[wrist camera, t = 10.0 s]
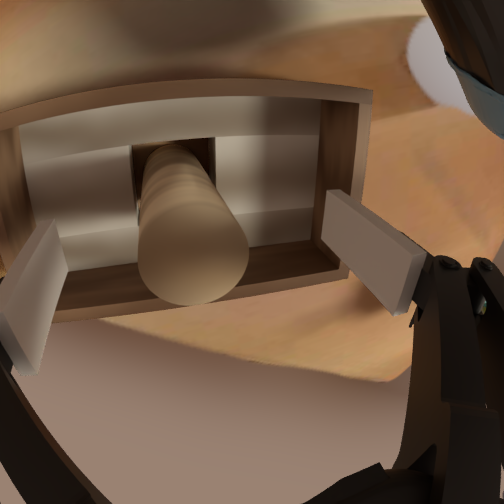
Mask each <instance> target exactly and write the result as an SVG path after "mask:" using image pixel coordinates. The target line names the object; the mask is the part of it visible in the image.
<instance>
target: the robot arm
mask: <svg viewBox="0 0 504 504" xmlns="http://www.w3.org/2000/svg"><path fill="white" fill-rule="evenodd" d="M421 2H422V3H423V5H424V7H425V9H426V11H427V13H428V15H429V17H430V19H431V20H432V22H433V24H434V26H435V29H436V31H437V33H438V35H439V37H440V39H441V41H442V43H443V46H444V52H445V55H446V58H447V61H448V63H449V65H450V66H451V67H452V68H453V69H454V71H455V72H456V75H457V77H458V79H459V81H460V84H461V86H462V89H463V91H464V94H465V96H466V99H467V101H468V103H469V105H470V107H471V109H472V110H473V112H474V113H475V115H476V116H477V117H478V119H479V120H480V121H481V122H482V123H483V124H484V125H485V126H486V127H487V128H488V129H489V130H490V131H492V132H493V133H494V134H496V135H497V136H499V137H500V138H501V139H503V140H504V0H421ZM321 239H322V240H323V241H324V242H325V243H326V244H327V246H328V247H329V248H330V249H331V250H332V251H333V252H334V253H335V254H336V255H337V256H338V257H339V258H340V259H341V260H342V261H343V262H344V263H345V264H346V265H347V266H348V268H349V269H350V270H351V271H352V272H353V273H354V274H355V275H356V276H357V277H358V278H359V279H360V280H361V281H362V283H363V284H364V285H365V286H366V287H367V288H368V289H369V290H370V291H371V292H372V293H373V295H374V296H375V297H376V298H377V299H378V300H379V301H380V302H381V303H382V304H383V306H384V307H385V308H386V309H387V310H388V311H389V312H390V313H391V315H392V316H397V315H400V314H403V313H406V312H408V309H409V306H410V303H411V301H412V300H413V301H414V302H415V303H416V304H417V307H416V309H415V312H414V315H413V317H412V320H411V322H410V325H409V327H410V328H411V327H412V324H414V336H413V353H412V366H411V377H410V387H409V395H408V404H407V411H406V418H405V424H404V431H403V436H402V442H401V447H400V452H399V455H398V457H397V459H396V461H395V463H394V465H393V467H392V469H386V470H384V469H383V467H382V466H381V464H380V463H377V464H374V465H372V466H370V467H368V468H366V469H363V470H361V471H359V472H356V473H354V474H352V475H349V476H347V477H344V478H342V479H340V480H339V481H338V482H336V483H335V484H333V485H332V486H330V487H329V488H327V489H326V490H324V491H323V492H321V493H320V494H318V495H317V496H315V497H313V498H312V499H310V500H309V501H307V502H305V503H303V504H504V491H503V499H502V498H500V482H501V464H502V466H503V469H504V276H503V275H502V273H501V272H500V270H499V269H498V268H497V266H496V265H495V264H494V263H492V262H491V261H490V260H488V259H486V258H481V257H476V258H473V261H472V264H471V267H470V268H462V266H461V264H460V263H459V262H457V261H456V260H454V259H453V258H450V257H448V256H443V255H438V256H435V257H434V256H432V255H431V254H430V253H429V252H427V251H426V250H425V249H423V248H422V247H421V246H420V245H418V244H416V242H414V241H413V240H412V239H410V238H409V237H408V236H406V235H405V234H404V233H402V232H400V231H398V230H397V229H395V228H394V227H393V226H391V225H390V224H389V223H387V222H386V221H384V220H383V219H382V218H380V217H379V216H378V215H376V214H375V213H373V212H372V211H370V210H369V209H368V208H366V207H365V206H363V205H362V204H360V203H359V202H358V201H356V200H355V199H353V198H352V197H350V196H349V195H347V194H346V193H344V192H343V191H341V190H340V189H338V190H327V192H326V201H325V210H324V218H323V226H322V234H321ZM67 273H68V267H67V263H66V260H65V257H64V253H63V249H62V246H61V242H60V238H59V234H58V230H57V226H56V222H55V219H49V220H43V221H40V223H39V224H38V225H37V227H36V228H35V230H34V231H33V233H32V234H31V236H30V237H29V239H28V240H27V242H26V243H25V245H24V246H23V248H22V249H21V251H20V252H19V254H18V256H17V257H16V259H15V260H14V262H13V264H12V265H11V267H10V269H9V270H8V272H7V274H6V275H5V277H2V278H1V279H0V462H1V463H2V465H3V467H4V469H5V470H6V472H7V474H8V476H9V477H10V479H11V481H12V482H13V484H14V485H15V487H16V488H17V490H18V492H19V493H20V495H21V496H22V498H23V499H24V501H25V502H26V504H112V503H111V502H110V501H109V500H108V499H107V498H106V497H105V496H104V495H103V494H102V493H101V492H100V491H99V490H98V489H97V488H96V487H95V486H94V485H93V484H92V483H91V481H90V480H89V479H88V478H87V477H86V476H85V475H84V474H83V473H82V472H81V470H80V469H79V468H78V467H77V466H76V465H75V464H74V462H73V461H72V460H71V459H70V458H69V456H68V455H67V454H66V453H65V451H64V450H63V449H62V448H61V447H60V445H59V444H58V443H57V441H56V440H55V439H54V437H53V436H52V435H51V433H50V432H49V431H48V430H47V428H46V426H45V425H44V424H43V422H42V421H41V419H40V418H39V417H38V415H37V414H36V412H35V411H34V409H33V408H32V406H31V405H30V403H29V402H28V400H27V398H26V397H25V395H24V394H23V392H22V390H21V389H20V387H19V385H18V384H17V382H16V381H15V379H14V377H13V376H12V375H11V369H12V366H13V365H14V366H15V368H16V369H17V371H18V373H19V374H20V375H22V376H23V375H25V376H26V375H38V373H39V368H40V364H41V359H42V355H43V351H44V347H45V343H46V340H47V336H48V332H49V329H50V325H51V322H52V318H53V315H54V312H55V309H56V305H57V302H58V299H59V296H60V293H61V290H62V287H63V284H64V281H65V278H66V276H67ZM485 301H486V310H485V313H484V314H483V313H482V311H481V310H482V308H483V305H484V303H485ZM486 405H487V408H486Z"/></svg>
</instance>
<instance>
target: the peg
mask: <svg viewBox="0 0 504 504" xmlns="http://www.w3.org/2000/svg"><path fill="white" fill-rule="evenodd" d="M248 260H249V245H248V241H247V238H246V235H245V233H244V231H243V229H242V228H241V226H240V225H239V223H238V222H237V220H236V218H235V217H234V215H233V214H232V212H231V211H230V209H229V208H228V206H227V204H226V203H225V201H224V200H223V198H222V197H221V195H220V194H219V192H218V191H217V189H216V187H215V186H214V184H213V183H212V181H211V180H210V178H209V177H208V175H207V173H206V172H205V170H204V169H203V167H202V166H201V164H200V163H199V161H198V160H197V158H196V156H195V155H194V154H193V153H192V152H191V151H190V150H189V149H187V148H186V147H184V146H181V145H175V144H170V145H165V146H162V147H159V148H158V149H156V150H155V151H153V152H152V153H151V154H150V156H149V157H148V159H147V160H146V162H145V165H144V171H143V181H142V192H141V204H140V218H139V236H138V269H139V273H140V275H141V278H142V280H143V282H144V283H145V285H146V286H147V287H148V288H149V290H150V291H151V292H153V293H154V294H155V295H156V296H158V297H159V298H161V299H163V300H165V301H167V302H170V303H173V304H177V305H184V306H194V305H201V304H206V303H209V302H212V301H214V300H216V299H218V298H220V297H222V296H224V295H225V294H226V293H228V292H229V291H230V290H231V289H233V288H234V287H235V285H236V284H237V283H238V282H239V281H240V279H241V278H242V276H243V274H244V272H245V270H246V267H247V264H248Z"/></svg>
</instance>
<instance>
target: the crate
mask: <svg viewBox="0 0 504 504" xmlns="http://www.w3.org/2000/svg"><path fill="white" fill-rule="evenodd" d="M372 98H373V90H369V89H363V88H357V87H350V86H343V85H335V84H326V83H317V82H306V81H294V80H278V79H251V78H214V79H188V80H172V81H160V82H149V83H140V84H132V85H124V86H117V87H110V88H104V89H97V90H92V91H86V92H81V93H76V94H71V95H66V96H62V97H57V98H53V99H49V100H45V101H41V102H37V103H33V104H29V105H25V106H22V107H18V108H15V109H12V110H8V111H5V112H2V113H0V255H1V258H2V261H3V264H4V266H5V269H6V272H8V270H9V269H10V267H11V265H12V264H13V262H14V260H15V259H16V257H17V256H18V254H19V252H20V251H21V249H22V248H23V246H24V245H25V243H26V242H27V240H28V239H29V237H30V236H31V234H32V233H33V231H34V230H35V228H36V227H37V225H38V224H39V223H40V221H43V220H49V219H55V222H56V226H57V230H58V234H59V238H60V242H61V246H62V249H63V253H64V257H65V260H66V263H67V267H68V273H67V276H66V278H65V281H64V284H63V287H62V290H61V293H60V296H59V299H58V302H57V305H56V309H55V312H54V315H53V318H52V322H51V323H59V322H69V321H79V320H88V319H96V318H105V317H113V316H121V315H129V314H137V313H144V312H152V311H159V310H166V309H173V308H180V307H187V306H184V305H177V304H173V303H170V302H167V301H165V300H163V299H161V298H159V297H158V296H156V295H155V294H154V293H153V292H151V291H150V290H149V288H148V287H147V286H146V285H145V283H144V282H143V280H142V278H141V275H140V273H139V269H138V236H139V218H140V211H139V210H138V202H137V194H136V185H135V176H134V166H133V155H132V145H135V144H143V143H152V142H161V141H171V140H182V139H194V138H208V142H209V178H210V180H211V181H212V183H213V184H214V186H215V187H216V189H217V191H218V192H219V194H220V195H221V197H222V198H223V200H224V201H225V203H226V204H227V206H228V208H229V209H230V211H231V212H232V214H233V215H234V217H235V218H236V220H237V222H238V223H239V225H240V226H241V228H242V229H243V231H244V233H245V235H246V238H247V241H248V245H249V260H248V264H247V267H246V270H245V272H244V274H243V276H242V278H241V279H240V281H239V282H238V283H237V284H236V285H235V287H234V288H233V289H231V290H230V291H229V292H228V293H226V294H225V295H224V296H222V297H220V298H218V299H216V300H214V301H212V302H209V303H213V302H219V301H225V300H232V299H238V298H244V297H250V296H256V295H261V294H267V293H273V292H279V291H284V290H290V289H295V288H301V287H306V286H311V285H316V284H322V283H327V282H332V281H337V280H342V279H347V278H348V275H349V270H350V269H349V268H348V266H347V265H346V264H345V263H344V262H343V261H342V260H341V259H340V258H339V257H338V256H337V255H336V254H335V253H334V252H333V251H332V250H331V249H330V248H329V247H328V246H327V244H326V243H325V242H324V241H323V240H322V239H321V234H322V226H323V218H324V210H325V201H326V192H327V190H338V189H340V190H341V191H343V192H344V193H346V194H347V195H349V196H350V197H352V198H353V199H355V200H356V201H358V202H359V203H360V204H361V201H362V194H363V186H364V179H365V171H366V163H367V154H368V145H369V135H370V124H371V112H372Z"/></svg>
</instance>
